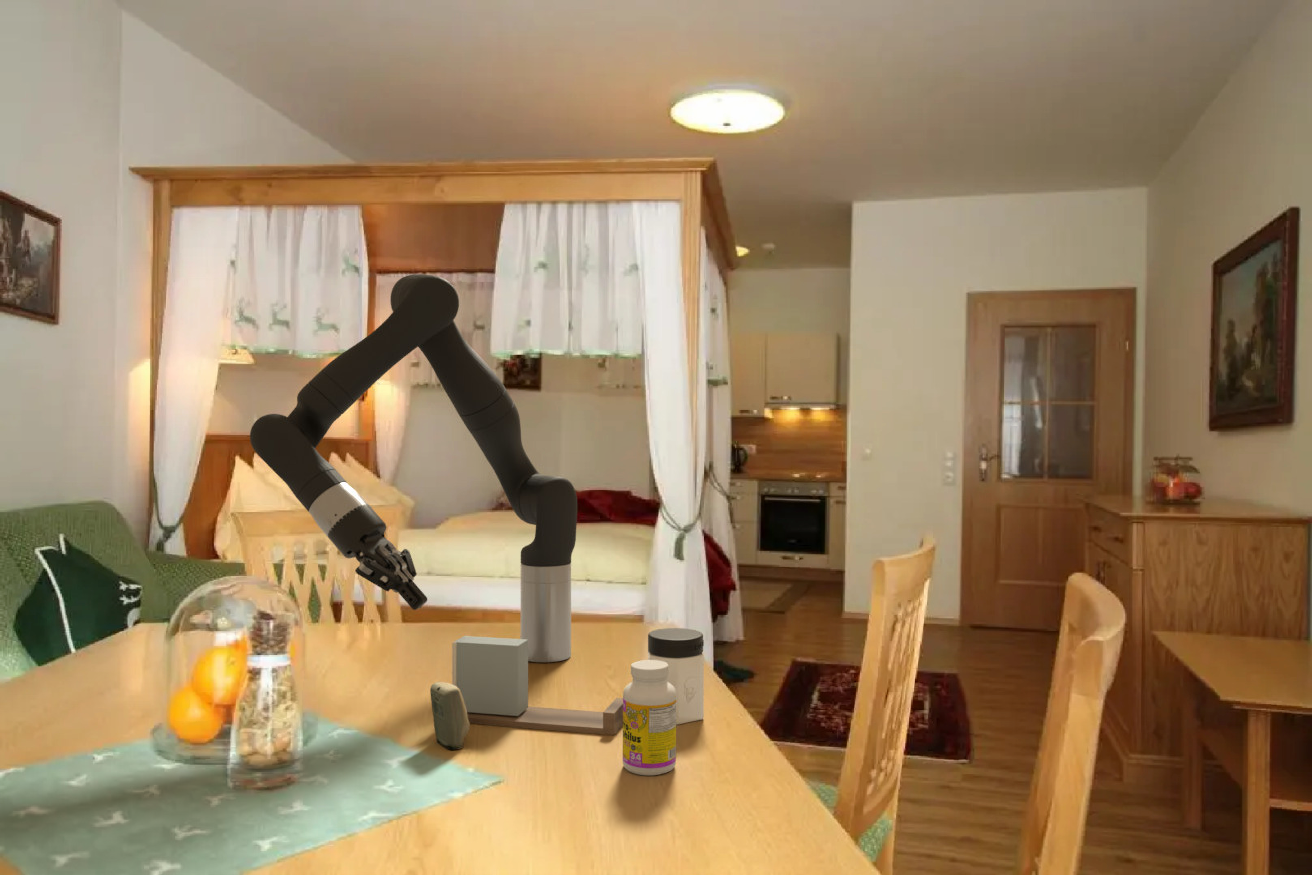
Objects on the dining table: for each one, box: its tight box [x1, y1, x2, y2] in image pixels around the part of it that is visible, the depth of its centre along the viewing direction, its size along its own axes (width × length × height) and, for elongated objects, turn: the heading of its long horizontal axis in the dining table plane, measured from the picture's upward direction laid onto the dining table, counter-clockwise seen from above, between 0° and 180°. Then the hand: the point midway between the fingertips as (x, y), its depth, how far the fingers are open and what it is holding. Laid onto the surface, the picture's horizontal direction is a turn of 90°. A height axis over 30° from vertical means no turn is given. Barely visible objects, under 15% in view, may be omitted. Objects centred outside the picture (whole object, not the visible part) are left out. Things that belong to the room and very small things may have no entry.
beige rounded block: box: [429, 681, 470, 751], centre depth 123 cm, size 6×5×8 cm
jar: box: [647, 627, 705, 726], centre depth 135 cm, size 9×8×12 cm
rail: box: [467, 697, 623, 736], centre depth 133 cm, size 7×26×3 cm, turn 77°
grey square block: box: [451, 635, 529, 716], centre depth 134 cm, size 4×10×10 cm, turn 77°
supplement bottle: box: [622, 659, 677, 776], centre depth 115 cm, size 7×7×13 cm
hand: (421, 605), depth 137 cm, fingers closed
